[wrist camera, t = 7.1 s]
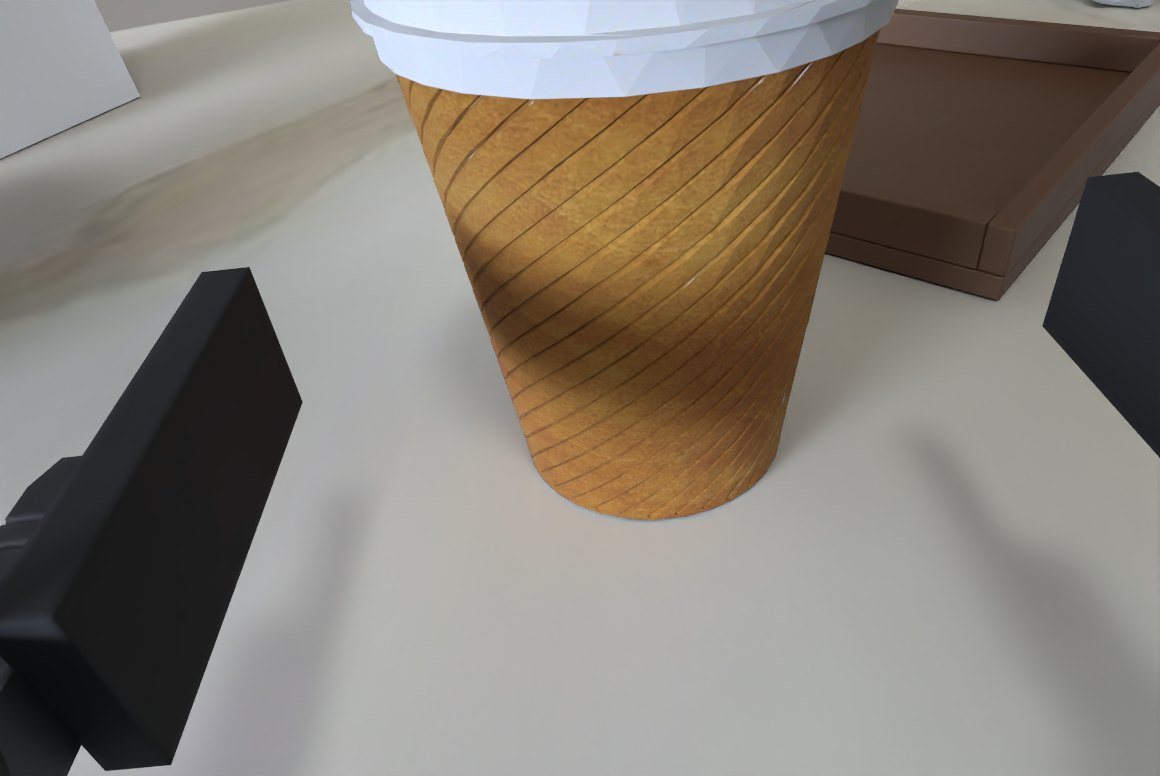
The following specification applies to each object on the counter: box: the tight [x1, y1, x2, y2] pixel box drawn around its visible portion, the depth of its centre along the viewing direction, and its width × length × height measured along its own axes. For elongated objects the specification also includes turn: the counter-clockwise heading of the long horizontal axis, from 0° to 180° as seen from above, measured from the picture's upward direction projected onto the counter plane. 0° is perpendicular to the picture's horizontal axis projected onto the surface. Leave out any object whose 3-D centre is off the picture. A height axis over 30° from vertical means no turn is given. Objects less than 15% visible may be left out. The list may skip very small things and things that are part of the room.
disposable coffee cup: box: [350, 0, 898, 520], centre depth 17 cm, size 10×10×12 cm
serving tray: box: [825, 9, 1160, 300], centre depth 33 cm, size 17×20×2 cm
